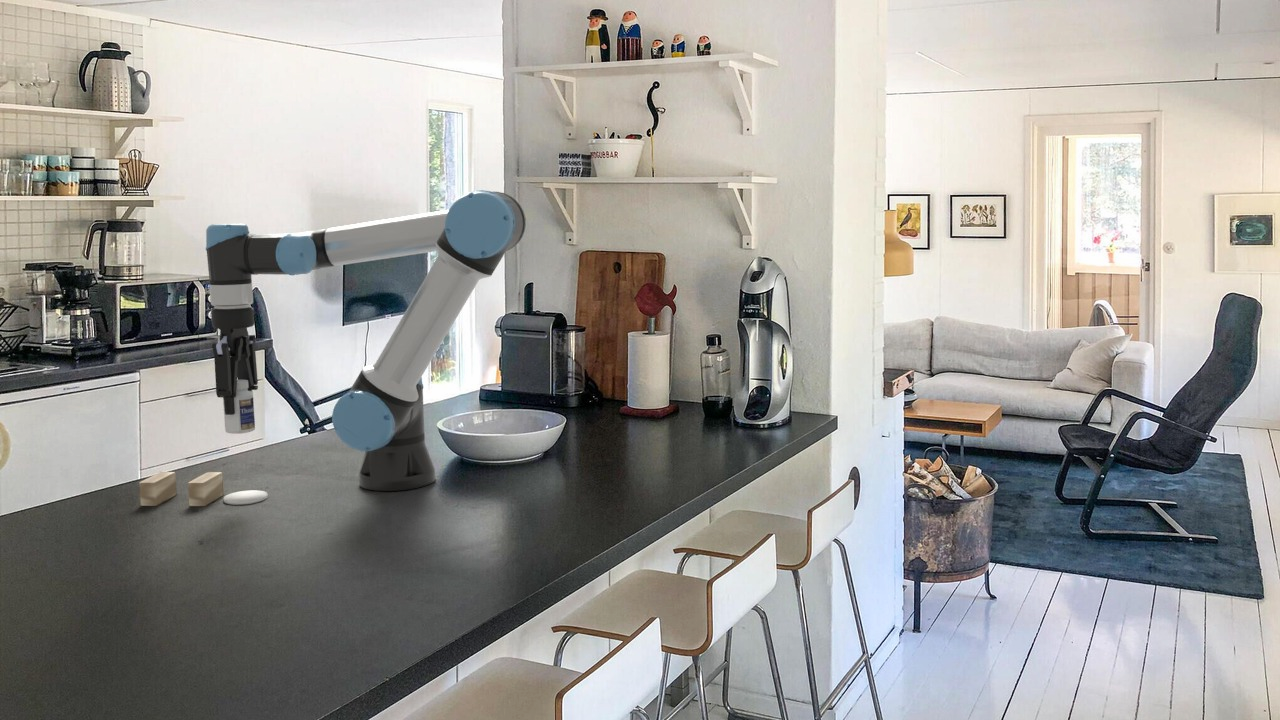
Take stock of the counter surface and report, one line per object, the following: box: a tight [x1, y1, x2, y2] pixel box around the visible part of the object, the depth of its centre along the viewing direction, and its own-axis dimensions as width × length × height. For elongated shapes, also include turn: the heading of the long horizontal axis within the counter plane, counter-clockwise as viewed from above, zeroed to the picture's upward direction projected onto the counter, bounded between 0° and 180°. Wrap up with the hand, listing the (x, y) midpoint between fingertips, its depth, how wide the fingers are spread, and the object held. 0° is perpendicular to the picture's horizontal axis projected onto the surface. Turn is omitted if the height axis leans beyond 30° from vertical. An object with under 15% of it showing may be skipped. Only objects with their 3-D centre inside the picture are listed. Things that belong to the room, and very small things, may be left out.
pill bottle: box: [222, 379, 256, 435], centre depth 205 cm, size 5×5×10 cm
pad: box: [223, 489, 269, 506], centre depth 207 cm, size 8×8×1 cm
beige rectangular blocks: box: [138, 471, 225, 507], centre depth 207 cm, size 12×8×4 cm, turn 86°
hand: (240, 427), depth 205 cm, fingers closed on pill bottle, 5 cm apart
